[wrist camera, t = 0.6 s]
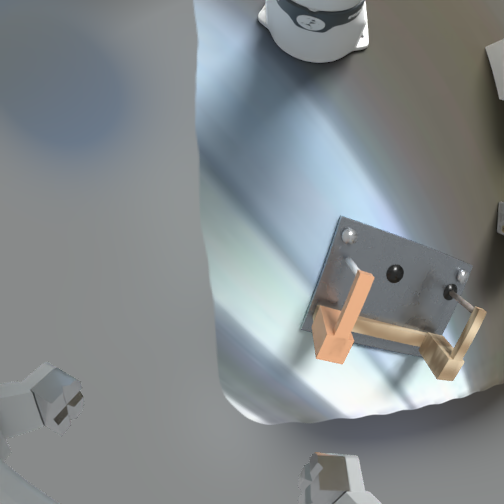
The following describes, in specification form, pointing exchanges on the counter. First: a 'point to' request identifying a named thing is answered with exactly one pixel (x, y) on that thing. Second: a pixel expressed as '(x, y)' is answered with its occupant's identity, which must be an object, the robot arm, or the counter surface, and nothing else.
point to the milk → (497, 65)
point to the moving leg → (340, 320)
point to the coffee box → (500, 218)
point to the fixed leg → (428, 340)
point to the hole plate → (390, 282)
